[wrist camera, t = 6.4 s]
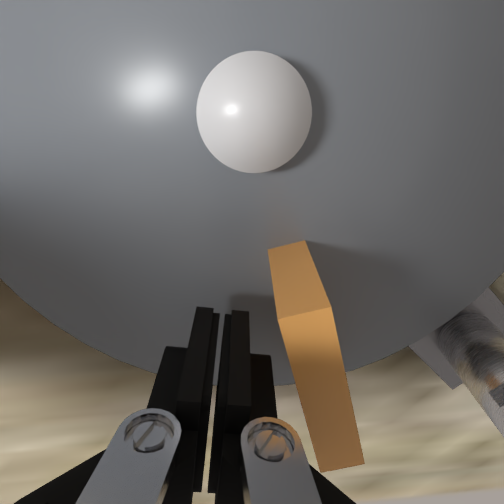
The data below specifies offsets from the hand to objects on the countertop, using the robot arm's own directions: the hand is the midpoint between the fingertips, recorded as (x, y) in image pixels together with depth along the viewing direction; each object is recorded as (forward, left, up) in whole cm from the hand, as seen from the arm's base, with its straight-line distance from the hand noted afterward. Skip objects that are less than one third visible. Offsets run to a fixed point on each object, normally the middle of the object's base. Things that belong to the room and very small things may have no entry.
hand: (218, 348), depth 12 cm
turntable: (-6, -4, -3) cm, 8 cm away
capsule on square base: (-6, +9, -4) cm, 11 cm away
